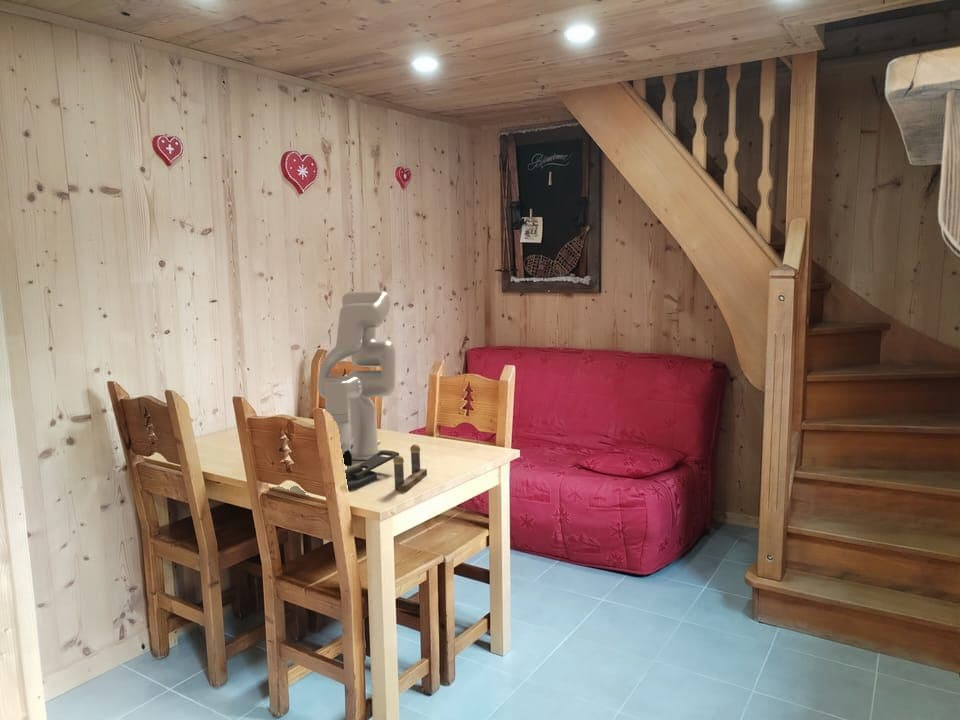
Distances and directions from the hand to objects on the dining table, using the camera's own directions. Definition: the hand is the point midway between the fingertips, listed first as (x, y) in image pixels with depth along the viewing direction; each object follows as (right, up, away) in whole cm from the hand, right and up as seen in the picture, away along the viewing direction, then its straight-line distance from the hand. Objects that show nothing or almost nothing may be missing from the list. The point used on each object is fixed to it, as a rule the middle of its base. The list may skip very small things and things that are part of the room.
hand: (340, 469), depth 217 cm
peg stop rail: (+23, -3, -6) cm, 24 cm away
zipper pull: (+9, -3, -1) cm, 10 cm away
